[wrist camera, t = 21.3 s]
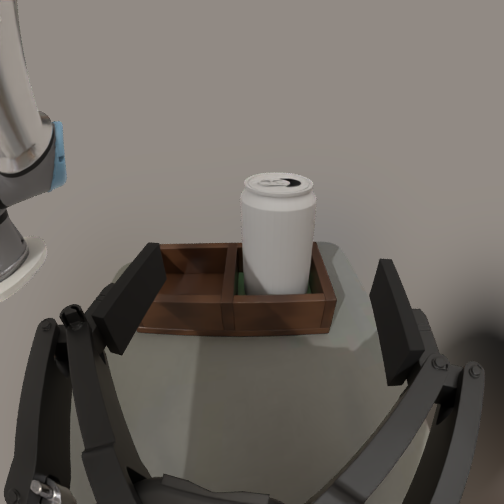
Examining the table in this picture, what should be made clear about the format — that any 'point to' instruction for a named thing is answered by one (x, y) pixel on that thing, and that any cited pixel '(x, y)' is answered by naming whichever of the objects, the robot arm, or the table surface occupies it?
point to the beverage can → (277, 233)
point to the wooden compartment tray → (232, 297)
